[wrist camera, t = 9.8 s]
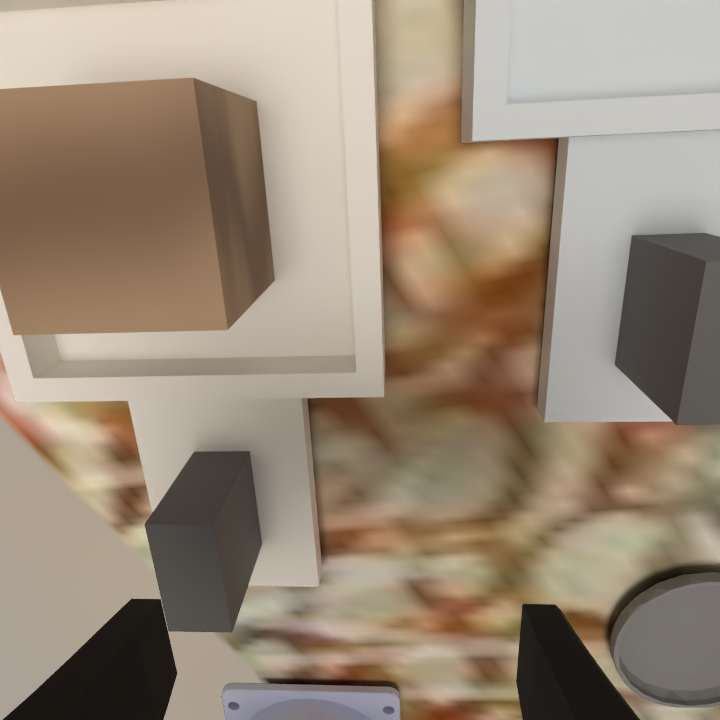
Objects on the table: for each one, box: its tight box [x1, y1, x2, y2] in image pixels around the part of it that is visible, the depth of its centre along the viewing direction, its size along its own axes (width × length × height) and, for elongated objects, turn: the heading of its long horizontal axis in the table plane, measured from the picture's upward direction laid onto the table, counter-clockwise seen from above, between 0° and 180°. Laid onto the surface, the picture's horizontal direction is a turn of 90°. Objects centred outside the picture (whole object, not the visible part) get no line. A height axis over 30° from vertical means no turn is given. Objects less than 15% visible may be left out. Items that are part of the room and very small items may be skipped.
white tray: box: [0, 0, 386, 632], centre depth 16 cm, size 20×12×5 cm, turn 3°
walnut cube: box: [0, 78, 275, 335], centre depth 14 cm, size 5×5×5 cm
